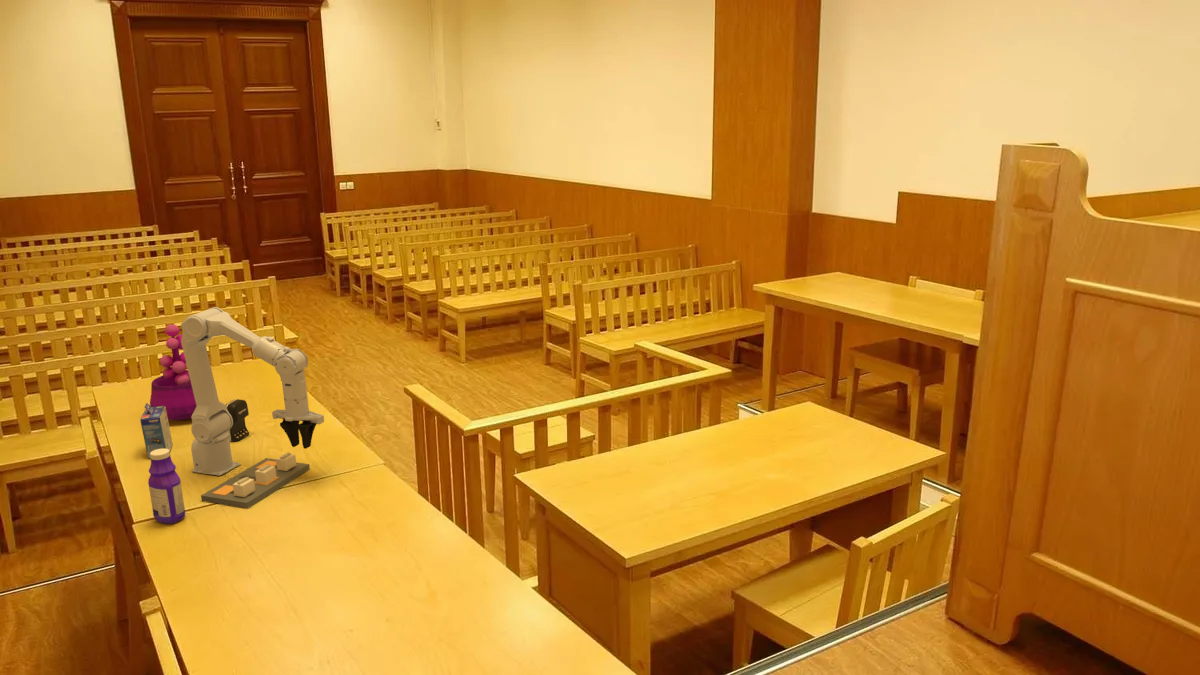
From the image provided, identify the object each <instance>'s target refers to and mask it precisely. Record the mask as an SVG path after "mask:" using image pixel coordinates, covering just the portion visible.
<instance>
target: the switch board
mask: <svg viewBox="0 0 1200 675" xmlns="http://www.w3.org/2000/svg"><path fill="white" fill-rule="evenodd" d="M276 459H277V458H275V459H274V458H270V457H269V458H268V457H266V458H264V459H262V460H261V461H259V462H256V463H254V464H253V465H252V466H250V467H248V468H246V469H245V470H243V471H241V472H239V473H237V474H236V475H234V476H232V477H231V478H229V479H227V480H226V481H224V482H222V483H220V484H218V485H217V486H215V487H213V488H211V489H210V490H208V491H206V492H204V493H202V494H201V495H200V499H201V502H205V501H206V502H208V503H211V502H212V503H213V504H217V503H218V504H219V505H223V504H224V506H230V507H236V508H242V507H243V509H249V508H252V507H253V506H254V505H255V504H257V503H260V502H261V501H262V500H263V499H265V498H267V497H269V495H271V494H273V493H274V492H276V491H278V490H280V489H281V488H283V487H284V486H286V485H288V484H289V483H290V482H292V481H293V480H296V479H297V478H298V477H300V476H301V475H303V474H305V473H306V472H308V471H309V470H310V467H311V466H310V464H309V463H305V462H304V463H302V462H298V461H296V466H294V467H293V468H291V469H289V470H288V471H283V470H277V464H276ZM268 464H269V465H271V466H275V469H276V478H275V479H273V480H271V481H270V482H268V483H266V484H265V483H258V482H256V475H255V471H257V470H258V469H260V468H262V467H263V466H265V465H268ZM245 477H249V479H254V484H255V491H253V492H252V493H250V494H248V495H247V496H245V497H240V496H234V490H233V484H234V483H236V482H238V481H239V480H241V479H243V478H245ZM206 502H205V503H206Z"/></svg>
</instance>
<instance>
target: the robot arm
mask: <svg viewBox="0 0 1200 675" xmlns="http://www.w3.org/2000/svg"><path fill="white" fill-rule="evenodd" d="M180 326H181V330H182V334H181V335H182V340H181V343H182V347H183V350H182V352H184V356H185V360H186V369H187V370H188V372H189V376H190V380H191V385H192V389H193V393H194V397H195V401H196V405H197V407H196V409H195V411H194V413H193V415H192V417H191V418H190V419H191V423H192V424H191V434H192V435H193V437H194V439H193V441H192V443H191V456H192V462H193V469H191V471H192V473H197V474H198V473H199V474H203V475H204V474H205V475H211V476H218V477H220V476H223V475H224V474H227V473H228V472H230V471H231V470H234V469H235V468H237V467H239V466H240V465H241V462H239V461H238V462H236V461H233V457H232V456H233V455H232V449H231V448H232V447H231V441H229V434H230V431H229V429H231V427H232V425H233V419H232V416H231V415H230V413H229V412H228V410H227V406H226V404H225V403H223V402H221V401H220V400H219V395H218V391H217V388H216V387H217V386H216V383H215V379H214V378H215V377H214V374H213V371H212V365H211V362H210V358H209V353H208V348H207V345H208V343H209V341H210V340H211V339H212V338H213V337H214V338H215V337H219V336H220V337H221V336H225V337H228V338H230V339H232V340H233V341H236V342H237V343H240V344H241V345H244V346H246V347H248V348H251V350H252V353H253V355H254V356H255V357H256V358H258V359H261V360H262V361H264V362H265V363H267V364H269V365H271V366H272V367H274V369H275V371H276V373H277V374H278V375H279V377H280V382H281V385H282V393H283V394H282V395H283V400H284V401H283V402H284V409H275V410H273V411H272V412H271V414H272V419H273V420H277V419H279V420H280V419H282V421H281V422H280V423H279V426H280V428H281V429H282V430H283V431H284V432H285V435H286V436H287V437H288V440H289V442H290V445H291V446H292V448H295V447H297V446H299V445H300V437H301V443H302V448H303V449H305V450H306V449H308V448H310V447H311V446H312V445H311V444H312V440H313V435H314V431H315V428H316V426H317V425H322V424H323V423H325V416H324V414H320V413H317V412H314V411H311V410H310V408H309V399H308V390H307V380H306V372H305V369H307V367H308V365H309V359H308V356H307V355H306V353H305V352H303V351H302V350H301V349H299V348H293V349H292V348H290V347H288V346H285V345H283V344H281V343H280V342H278V341H276V340H275V338H274V337H272V336H267V335H264V336H258V335H257V334H256V333H254V332H253V331H251V330H249V329H248V328H246V327H245V326H243V325H242V324H240V323H239V322H238V321H236V320H235V319H233V318H232V317H231V315H230V313H229V312H226V311H224V310H223V309H222V308H220V307H217V306H213V307H210V308H208V309H206V310H203V311H201V312H198V313H195V314H191V315H188V316H187V317H185V319H184V320H183V321H182V322H181V324H180Z"/></svg>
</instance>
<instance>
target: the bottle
mask: <svg viewBox="0 0 1200 675" xmlns="http://www.w3.org/2000/svg"><path fill="white" fill-rule="evenodd" d="M170 452H171V451H170ZM170 452H169V449H157V450H154V451H152V452H151V453H150V457H151V459H150V467H149V468H148V473H149V474H150V475H149V478H148V489H149V496H150V502H151V503H150V504H151V509H152V515H153V517H154V519H155V520H156V521H157V522H158V523H162V524H168V525H169V524H175V523H178V522H179V521H181V520H182V519H184V518H185V516H186V510H185V509H186V508H185V501H184V496H183V495H184V494H183V488H182V484H181V482H182V481H181V478H180V476H179V474H178V473H177V472H176V468H177V466H176V464H174V462H173V460H172V457H171V453H170Z"/></svg>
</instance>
